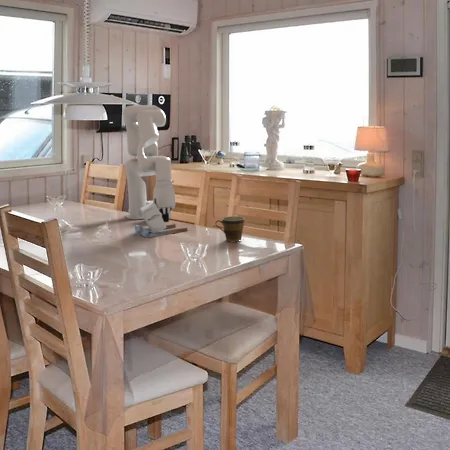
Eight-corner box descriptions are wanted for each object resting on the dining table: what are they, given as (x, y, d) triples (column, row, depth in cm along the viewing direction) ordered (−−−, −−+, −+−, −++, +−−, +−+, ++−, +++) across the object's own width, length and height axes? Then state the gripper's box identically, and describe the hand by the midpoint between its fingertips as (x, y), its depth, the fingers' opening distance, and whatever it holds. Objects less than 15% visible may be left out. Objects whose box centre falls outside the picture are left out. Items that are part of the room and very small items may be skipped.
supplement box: (153, 234, 289) (141, 211, 285) (150, 231, 296) (139, 208, 292) (167, 227, 290) (156, 204, 287) (164, 224, 297) (153, 201, 294)
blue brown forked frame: (135, 233, 293) (134, 224, 292) (174, 226, 306) (174, 219, 305) (147, 237, 284) (146, 228, 283) (187, 230, 297) (187, 222, 296)
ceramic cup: (244, 237, 280) (243, 216, 278) (245, 242, 270) (245, 220, 268) (215, 238, 279) (215, 216, 277) (216, 243, 270) (215, 221, 268)
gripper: (172, 181, 299) (174, 218, 302) (146, 184, 290) (147, 222, 293) (181, 182, 293) (183, 220, 296) (154, 185, 284) (156, 224, 287)
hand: (165, 221), depth 295 cm, fingers closed
